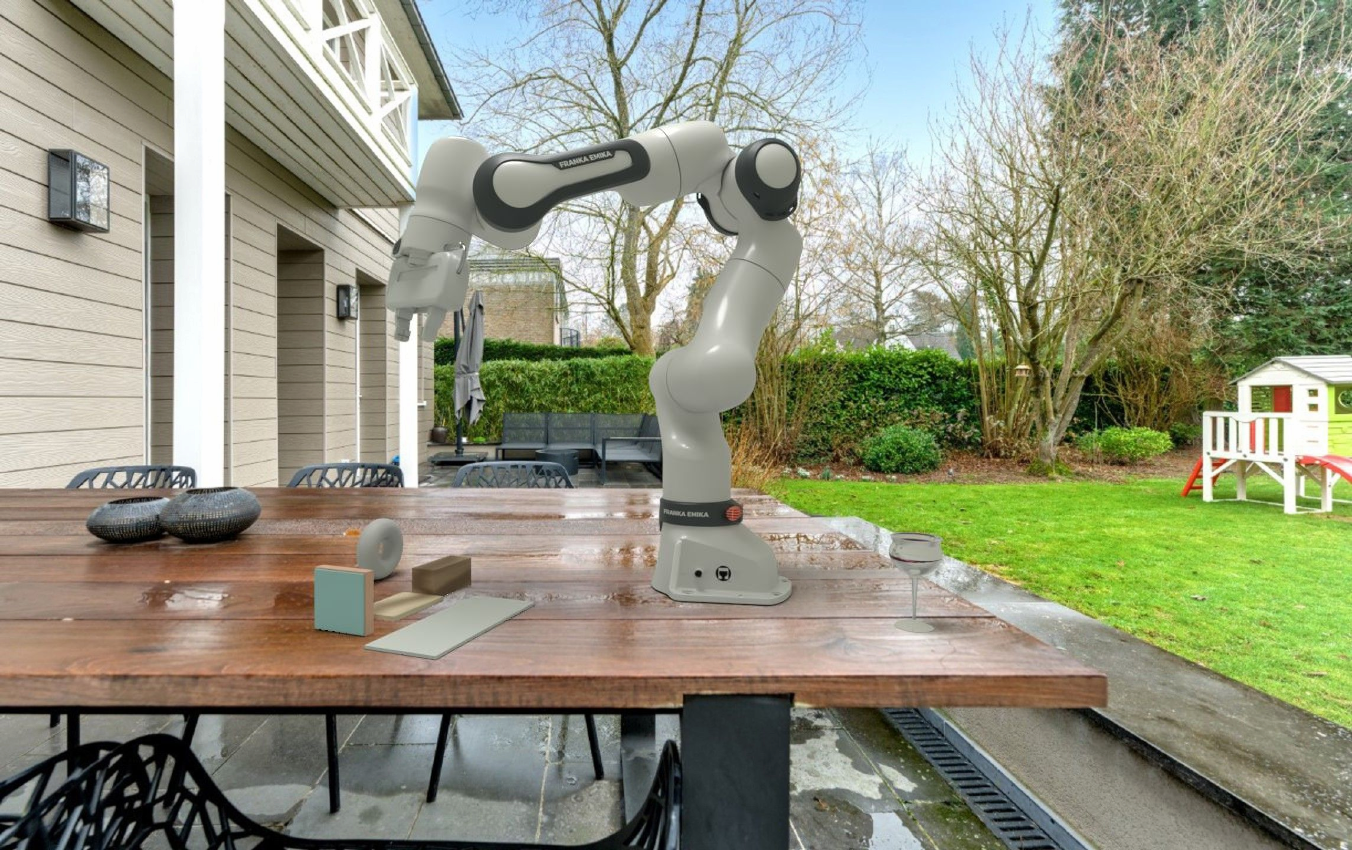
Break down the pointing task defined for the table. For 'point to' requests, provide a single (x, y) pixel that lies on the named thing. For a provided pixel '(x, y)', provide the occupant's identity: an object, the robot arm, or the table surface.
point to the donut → (370, 546)
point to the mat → (450, 627)
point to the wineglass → (915, 566)
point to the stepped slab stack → (426, 588)
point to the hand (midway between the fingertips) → (413, 341)
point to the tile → (344, 599)
